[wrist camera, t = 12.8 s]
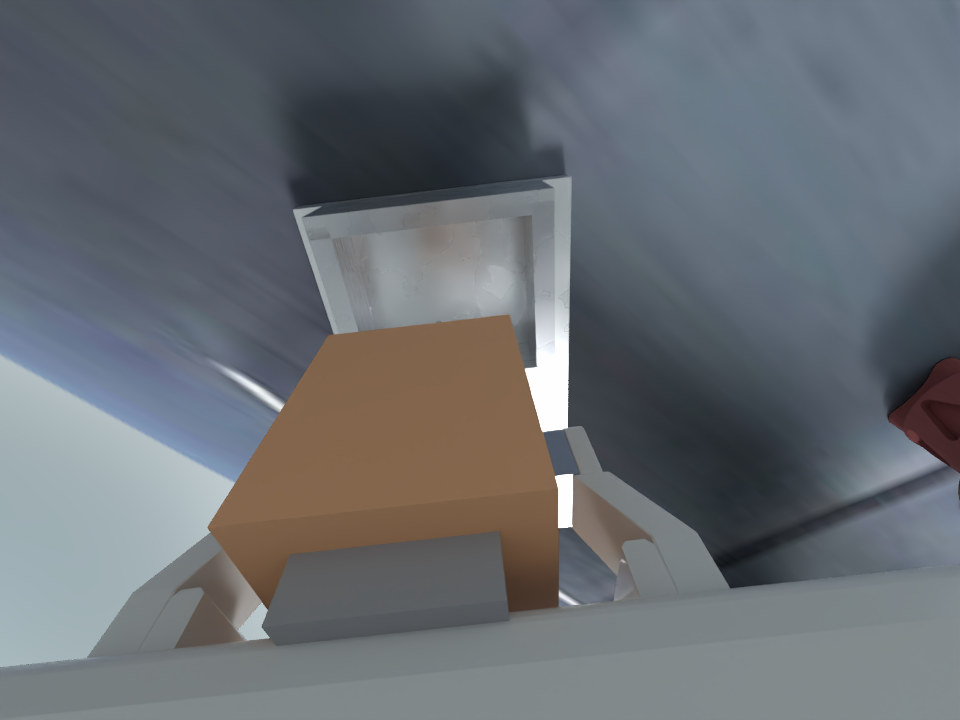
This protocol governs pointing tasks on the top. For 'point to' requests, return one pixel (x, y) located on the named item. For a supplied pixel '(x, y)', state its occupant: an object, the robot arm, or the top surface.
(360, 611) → the block
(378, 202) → the chassis
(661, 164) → the top surface
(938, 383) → the mechanical component
